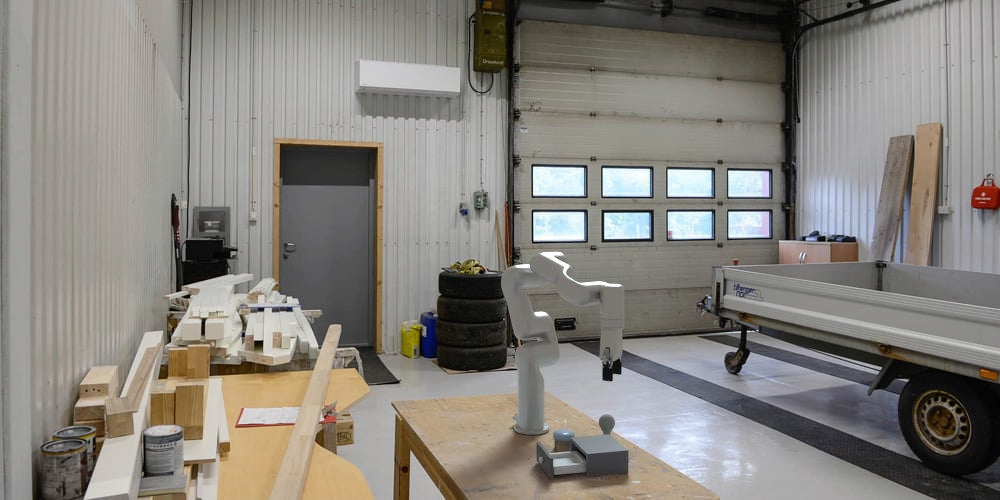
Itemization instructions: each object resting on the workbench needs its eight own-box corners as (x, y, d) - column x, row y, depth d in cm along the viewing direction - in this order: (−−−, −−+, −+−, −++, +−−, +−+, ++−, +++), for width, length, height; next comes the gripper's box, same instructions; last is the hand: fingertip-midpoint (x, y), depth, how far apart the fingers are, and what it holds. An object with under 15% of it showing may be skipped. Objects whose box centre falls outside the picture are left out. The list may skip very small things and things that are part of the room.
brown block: (554, 447, 214) (554, 435, 214) (568, 446, 215) (568, 434, 215) (559, 453, 210) (558, 440, 209) (573, 451, 211) (573, 439, 210)
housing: (570, 459, 204) (570, 437, 204) (609, 455, 207) (609, 434, 206) (587, 477, 189) (587, 453, 189) (628, 473, 192) (628, 450, 192)
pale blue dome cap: (548, 437, 213) (548, 433, 212) (563, 432, 217) (563, 428, 217) (564, 442, 207) (564, 438, 207) (578, 437, 212) (578, 433, 212)
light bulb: (602, 447, 215) (602, 417, 214) (596, 441, 220) (596, 412, 220) (617, 445, 216) (617, 415, 216) (610, 440, 222) (610, 411, 221)
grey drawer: (533, 461, 201) (533, 442, 201) (575, 457, 204) (575, 438, 204) (546, 479, 187) (546, 458, 186) (591, 474, 190) (591, 454, 189)
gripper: (608, 318, 211) (608, 370, 212) (592, 326, 196) (592, 382, 197) (631, 320, 208) (631, 372, 209) (616, 328, 193) (616, 385, 193)
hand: (612, 377), depth 203 cm, fingers open, 9 cm apart
